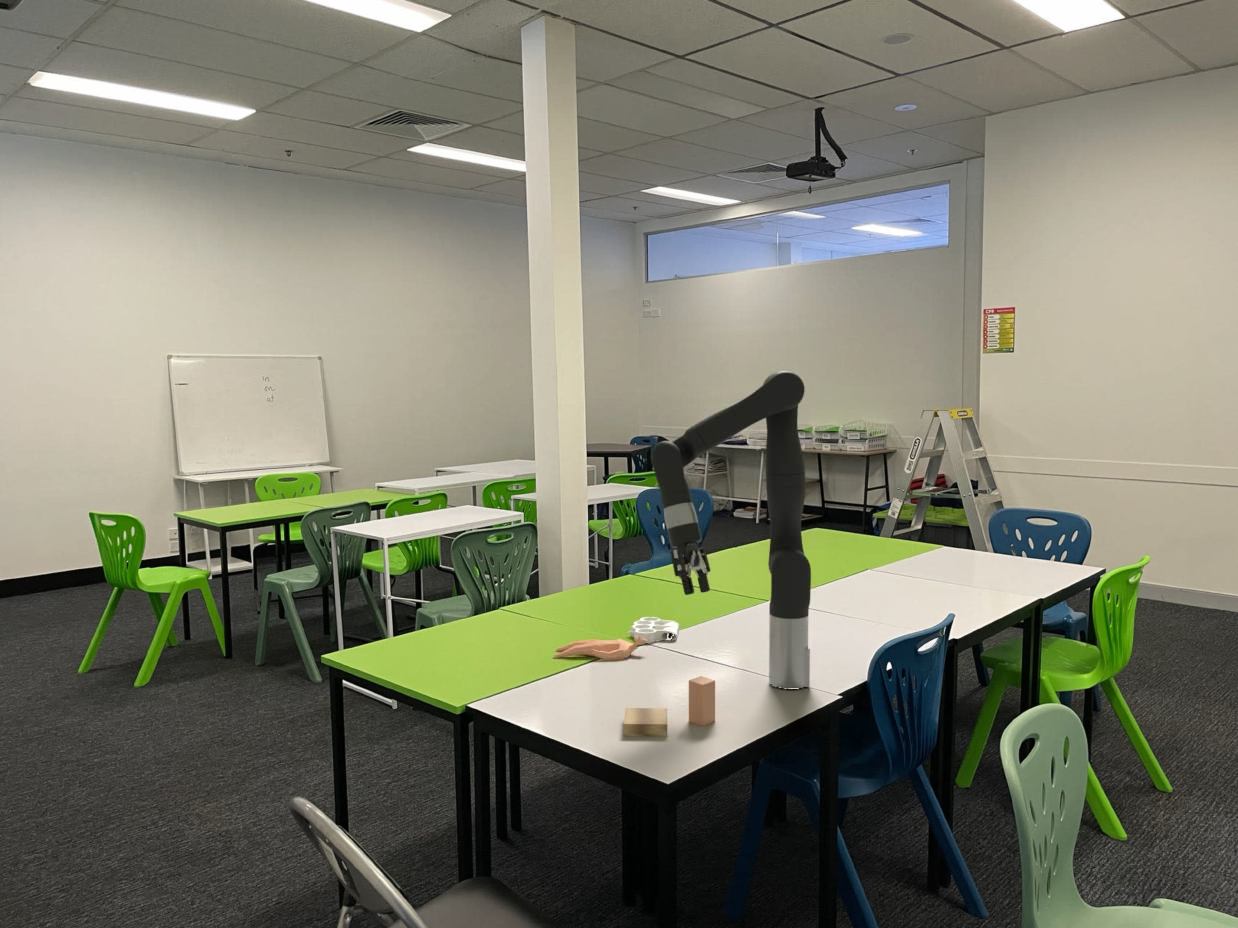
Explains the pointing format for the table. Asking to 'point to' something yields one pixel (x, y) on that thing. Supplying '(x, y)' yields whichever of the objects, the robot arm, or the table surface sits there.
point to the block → (701, 700)
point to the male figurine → (601, 648)
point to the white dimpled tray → (654, 629)
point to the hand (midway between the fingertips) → (697, 593)
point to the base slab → (645, 722)
